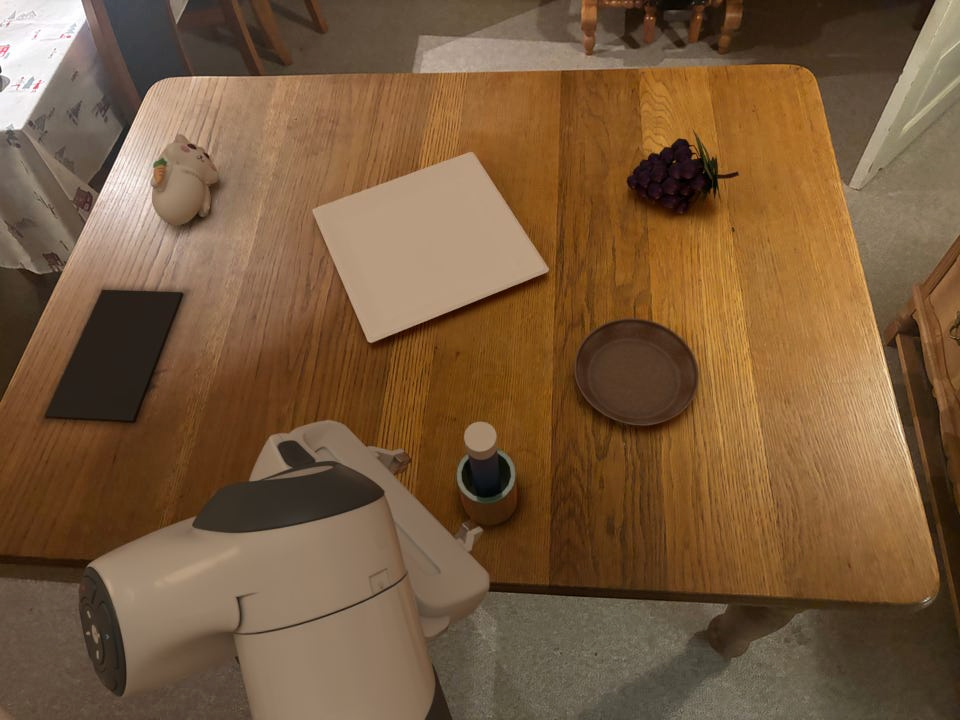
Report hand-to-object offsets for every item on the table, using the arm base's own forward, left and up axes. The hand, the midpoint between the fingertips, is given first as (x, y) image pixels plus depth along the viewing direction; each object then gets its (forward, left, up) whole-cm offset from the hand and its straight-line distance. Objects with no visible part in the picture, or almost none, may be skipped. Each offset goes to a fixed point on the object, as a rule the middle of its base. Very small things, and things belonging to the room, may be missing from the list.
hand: (438, 493), depth 59 cm
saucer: (+29, -4, -16) cm, 34 cm away
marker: (+6, 0, -15) cm, 17 cm away
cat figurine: (+14, +67, -16) cm, 71 cm away
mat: (-10, +52, -16) cm, 56 cm away
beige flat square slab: (+29, +31, -16) cm, 46 cm away
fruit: (+58, +8, -16) cm, 61 cm away
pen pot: (+6, 0, -16) cm, 17 cm away
